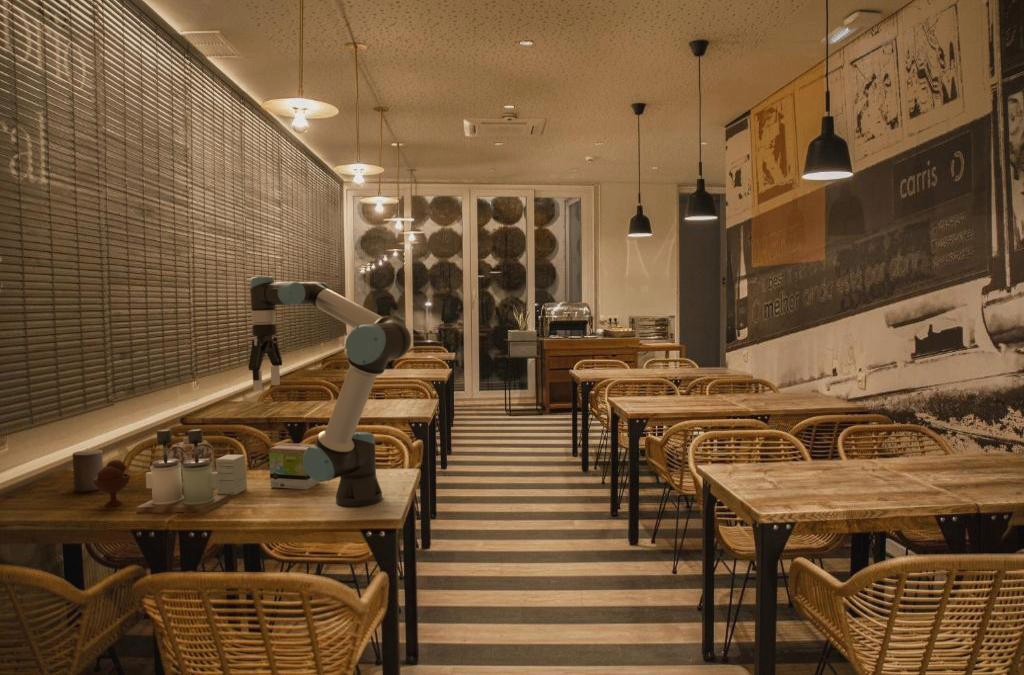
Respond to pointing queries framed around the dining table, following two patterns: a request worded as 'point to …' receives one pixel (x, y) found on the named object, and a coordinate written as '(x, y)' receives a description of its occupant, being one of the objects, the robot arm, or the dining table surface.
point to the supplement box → (231, 474)
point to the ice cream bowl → (112, 480)
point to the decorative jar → (191, 453)
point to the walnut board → (182, 506)
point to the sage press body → (199, 484)
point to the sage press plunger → (196, 448)
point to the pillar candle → (86, 469)
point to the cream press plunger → (164, 448)
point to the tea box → (289, 467)
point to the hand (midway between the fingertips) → (267, 387)
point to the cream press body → (165, 484)
